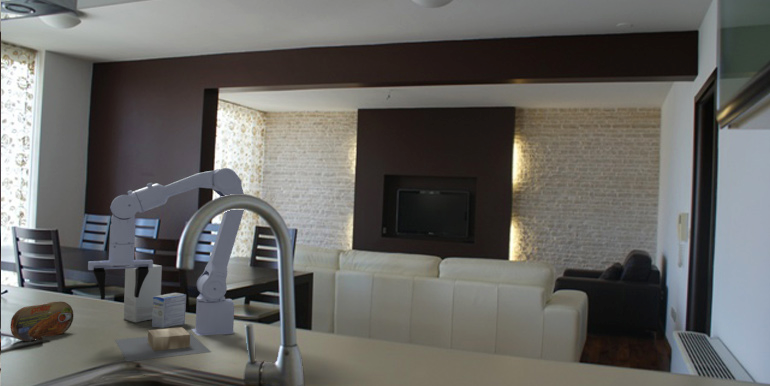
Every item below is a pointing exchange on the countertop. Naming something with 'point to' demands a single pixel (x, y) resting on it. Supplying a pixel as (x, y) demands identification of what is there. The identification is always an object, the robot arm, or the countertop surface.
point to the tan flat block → (168, 338)
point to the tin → (41, 320)
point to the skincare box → (141, 294)
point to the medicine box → (169, 310)
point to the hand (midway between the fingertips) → (119, 297)
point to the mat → (142, 350)
